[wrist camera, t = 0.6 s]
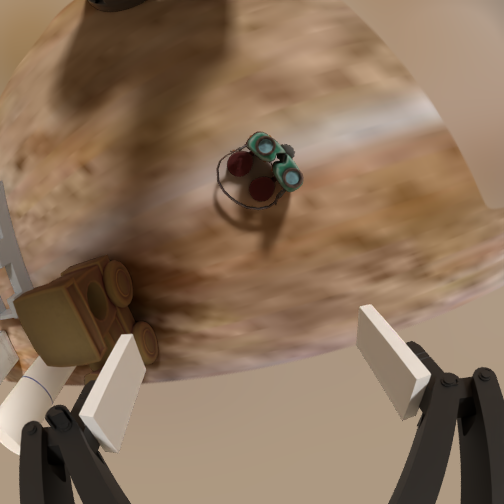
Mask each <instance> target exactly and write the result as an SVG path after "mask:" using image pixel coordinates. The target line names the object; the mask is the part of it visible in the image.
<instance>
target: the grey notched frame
mask: <svg viewBox="0 0 504 504" xmlns="http://www.w3.org/2000/svg"><path fill="white" fill-rule="evenodd" d="M4 266H5V268H6V271H7V274H8V277H9V279H10V282H11V285H12V287H13V290H14V292H15V294H13V295H12V296H11V297H9V298H8V299H7V302H8V304H9V306H10V309H7V310H6V308H5V306H4V304H3V301H2V299H1V296H0V320H3V319H9V318H14V317H15V319H17V318H18V315H17V313H16V310H15V307H14V304H13V301H14V300H15V299H16V298H18V297H19V296H20V295H22V294H23V293H25V292H27V291H29V290H32V289H34V288H33V286H32V283H31V281H30V278H29V276H28V273H27V270H26V267H25V265H24V262H23V259H22V256H21V253H20V250H19V247H18V243H17V240H16V237H15V233H14V230H13V226H12V222H11V218H10V214H9V210H8V206H7V202H6V197H5V192H4V187H3V182H2V181H0V268H3V267H4Z"/></svg>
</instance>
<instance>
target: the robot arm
mask: <svg viewBox="0 0 504 504" xmlns="http://www.w3.org/2000/svg"><path fill="white" fill-rule="evenodd" d="M88 1H89V3H90V4H91V5H92V6H93V7H94V8H96V9H98V10H101V11H106V12H113V11H120V10H124V9H128V8H131V7H133V6H136V5H138V4H140V3H142V2H144V1H146V0H88ZM356 345H357V347H358V349H359V350H360V352H361V353H362V355H363V357H364V358H365V360H366V361H367V363H368V364H369V366H370V368H371V369H372V371H373V372H374V374H375V375H376V377H377V379H378V381H379V382H380V384H381V386H382V387H383V389H384V391H385V392H386V394H387V395H388V397H389V399H390V400H391V402H392V404H393V406H394V407H395V409H396V411H397V412H398V414H399V415H400V417H401V419H402V421H403V420H405V419H408V418H410V417H413V416H416V414H417V411H418V409H419V408H420V409H421V411H422V412H423V413H422V416H421V418H420V420H419V422H418V424H417V426H418V429H417V432H416V435H415V438H414V441H413V444H412V447H411V450H410V453H409V456H408V458H407V461H406V464H405V467H404V469H403V471H402V474H401V476H400V479H399V481H398V483H397V486H396V488H395V490H394V493H393V495H392V497H391V499H390V501H389V503H388V504H435V503H436V500H437V497H438V494H439V491H440V488H441V485H442V481H443V478H444V474H445V471H446V467H447V463H448V459H449V455H450V451H451V446H452V441H453V436H454V431H455V425H456V420H457V423H458V432H459V444H460V458H461V504H504V399H503V396H502V393H501V390H500V387H499V383H498V380H497V377H496V375H495V373H494V372H493V371H492V370H491V369H489V368H484V367H481V368H478V369H477V370H475V372H474V374H473V376H472V377H468V378H459V377H458V376H456V375H455V374H452V373H444V372H443V371H442V370H441V368H440V367H439V366H438V365H437V364H436V363H435V362H434V360H433V359H432V358H431V357H429V355H428V354H427V353H426V352H425V350H424V349H423V348H422V347H421V346H420V345H418V344H416V343H415V342H413V341H411V342H407V343H405V342H404V341H403V340H402V339H401V338H400V337H399V335H398V334H397V333H396V332H395V331H394V330H393V328H392V327H391V326H390V325H389V324H388V323H387V322H386V321H385V319H384V318H383V317H382V316H381V315H380V314H379V313H378V312H377V310H376V309H375V308H374V307H373V306H372V305H371V304H370V305H365V306H360V307H359V318H358V330H357V341H356ZM145 372H146V368H145V366H144V363H143V361H142V358H141V355H140V353H139V350H138V347H137V345H136V342H135V339H134V336H133V334H121V336H120V338H119V340H118V341H117V343H116V345H115V347H114V348H113V350H112V352H111V354H110V356H109V358H108V359H107V361H106V363H105V365H104V367H103V369H102V370H101V372H100V374H99V376H98V378H97V380H91V381H89V382H88V383H87V384H86V385H85V386H84V388H83V390H82V392H81V394H80V395H79V398H78V399H77V401H76V403H75V405H74V407H73V409H72V411H71V413H70V412H69V410H68V409H67V407H66V406H63V405H56V406H53V407H51V408H50V409H49V410H48V411H47V413H46V415H45V419H46V421H47V422H48V424H49V425H50V426H51V427H44V428H43V427H42V425H41V424H40V423H39V422H38V421H30V422H28V423H26V424H25V425H24V427H23V428H22V432H21V444H20V467H19V472H20V473H19V481H20V482H19V485H20V504H75V502H74V497H73V491H72V485H71V478H72V481H73V483H74V485H75V488H76V489H77V492H78V494H79V496H80V498H81V500H82V502H83V504H131V503H130V501H129V500H128V498H127V497H126V496H125V494H124V493H123V491H122V489H121V488H120V486H119V485H118V483H117V482H116V480H115V478H114V476H113V475H112V473H111V471H110V470H109V468H108V466H107V464H106V463H105V461H104V459H103V457H102V456H101V454H100V452H99V451H98V449H99V446H100V445H101V447H102V448H103V449H104V450H105V451H106V452H113V453H119V451H120V447H121V444H122V441H123V438H124V435H125V431H126V428H127V425H128V422H129V419H130V416H131V413H132V410H133V407H134V404H135V401H136V398H137V395H138V392H139V389H140V386H141V383H142V380H143V378H144V375H145ZM70 476H71V478H70Z"/></svg>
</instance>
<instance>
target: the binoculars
mask: <svg viewBox="0 0 504 504" xmlns="http://www.w3.org/2000/svg"><path fill="white" fill-rule="evenodd" d="M247 146H248V147H247ZM245 147H247V148H248V149H249V150H250V152H245V151H241V150H242V149H243V148H245ZM236 150H239V152H238V151H236ZM236 150H233V151H230V152H231V153H229V154H227V155H230V154H232V153H233V154H232V155H231V156H230V157H229V159H228V162H227V167H228V170H229V172H230V173H231V174H232V175H234V176H238V177H241V176H245V175H246V174H248V173H249V172H250V170H251V168H252V165H253V158H252V156H253V155H256V156H257V157H258V158H259V159H261V160H263V161H264V162H269V163H271V161H274V160H275V158H276V155H277V158H278V159H279V160H280V161H275V162H274V163H273V165H272V163H271V166H272V169H271V171H273V175H274V176H273V177H272V178H269V177H259V178H256V179H255V180H253V181H252V182H251V184H250V187H249V192H250V195H251V196H252V198H253V199H255V200H257V201H266V200H268V199H269V198H270V197H271V196H272V195H273V193H274V190H275V182H276V181H278V182H279V184H280V186H281V187H282V190H281V191H280V192H279V193H278V194H277V196H276V198H275V201H274V202H273V203H271V204H270V205H269V206H264V207H260V208H257V207H250V206H246V205H244V204H242V203H240V202H238V201H236V200H235V199H234V198H232V197H231V196H230V195H229V194H228V193H227V192H226V191H225V190H224V188H223V187H222V185H221V183H220V181H219V170H218V168H219V165H220V163H221V161H222V160H223V159H224V158H225V157H226V156H227V155H225V156H224V157H223V158H222V159H221V160H220V161H219V163H218V166H217V182H218V184H219V186H220V187H221V189H222V191H223V192H224V193H225V194H226V195H227V196H228V197H229V198H230V199H231V200H233V201H234V202H235V203H237V204H238V205H241V206H243V207H245V208H247V209H254V210H262V209H266V208H270V207H271V206H272V205H274V204H275V205H276V204H277V201H278V199H279V198H281V197H282V195H283V194H284V193H285V192H286V191H288V192H293V191H295V190H297V189H298V188H299V187H300V186H301V185H302V184H303V174H302V173H301V171H300V170H299V168H298V167H297V165H296V164H295V162H294V161H293V160H292V158H293V157H294V156H295V155H294V153H295V151H294V150H293V148H292V147H291V146H290V145H287V144H285V145H283V144H282V145H281V146H280V144H279V143H278V142H277V141H276V140H275V139H273V138H272V137H271V136H270V135H268V134H266V133H264V132H256V133H254V134H253V135H252V136H250V138H249V139H248V140H247V142H246V144H245V145H244V146H242V147H239V148H238V149H236ZM234 152H236V153H234ZM283 188H284V189H283ZM281 193H282V194H281Z"/></svg>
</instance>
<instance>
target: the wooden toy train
mask: <svg viewBox="0 0 504 504" xmlns="http://www.w3.org/2000/svg"><path fill="white" fill-rule="evenodd" d="M61 276H62V277H60V278H58V279H56V280H54V281H52V282H50V283H49V284H46V285H43V286H40V287H36V288H34V289H32V290H29V291H27V292H25V293H23V294H22V295H20V296H19V297H18V298H16V299H15V300H14V301H13V304H14V307H15V310H16V313H17V315H18V318H19V321H20V323H21V325H22V327H23V329H24V331H25V333H26V334H27V336H28V338H29V340H30V342H31V343H32V345H33V347H34V349H35V350H36V352H37V353H38V354H39V356H40V357H41V358H42V360H43V361H44V362H45V364H46V365H47V366H50V367H71V366H82V365H86V364H88V365H89V366H90V368H91V369H92V371H93V372H92V373H90V374H88V375H87V376H85V379H84V384H85V385H86V384H87V383H88V382H89V381H91V380H97V378H98V376H99V374H100V372H101V370H102V369H103V367H104V365H105V363H106V361H107V359H108V358H109V356H110V354H111V352H112V350H113V348H114V347H115V345H116V343H117V341H118V340H119V338H120V336H121V334H133V336H134V339H135V342H136V345H137V347H138V350H139V353H140V355H141V358H142V361H143V363H144V365H148V364H153V362H154V361H155V360H156V358H157V355H158V343H157V339H156V335H155V333H154V331H153V329H152V327H151V326H150V325H149V324H148V323H146V322H144V321H138V322H137V323H135V320H134V318H133V316H132V314H131V312H130V309H129V307H128V305H129V304H130V302H131V300H132V297H133V285H132V280H131V277H130V274H129V272H128V270H127V269H126V267H125V266H124V265H123V264H122V263H121V262H119V261H115V260H112V261H109V258H108V255H104V256H101V257H98V258H95V259H92V260H89V261H86V262H83V263H79V264H76V265H73V266H70V267H69V268H68V269H66V270H65V271H64V272H62V273H61Z"/></svg>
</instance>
